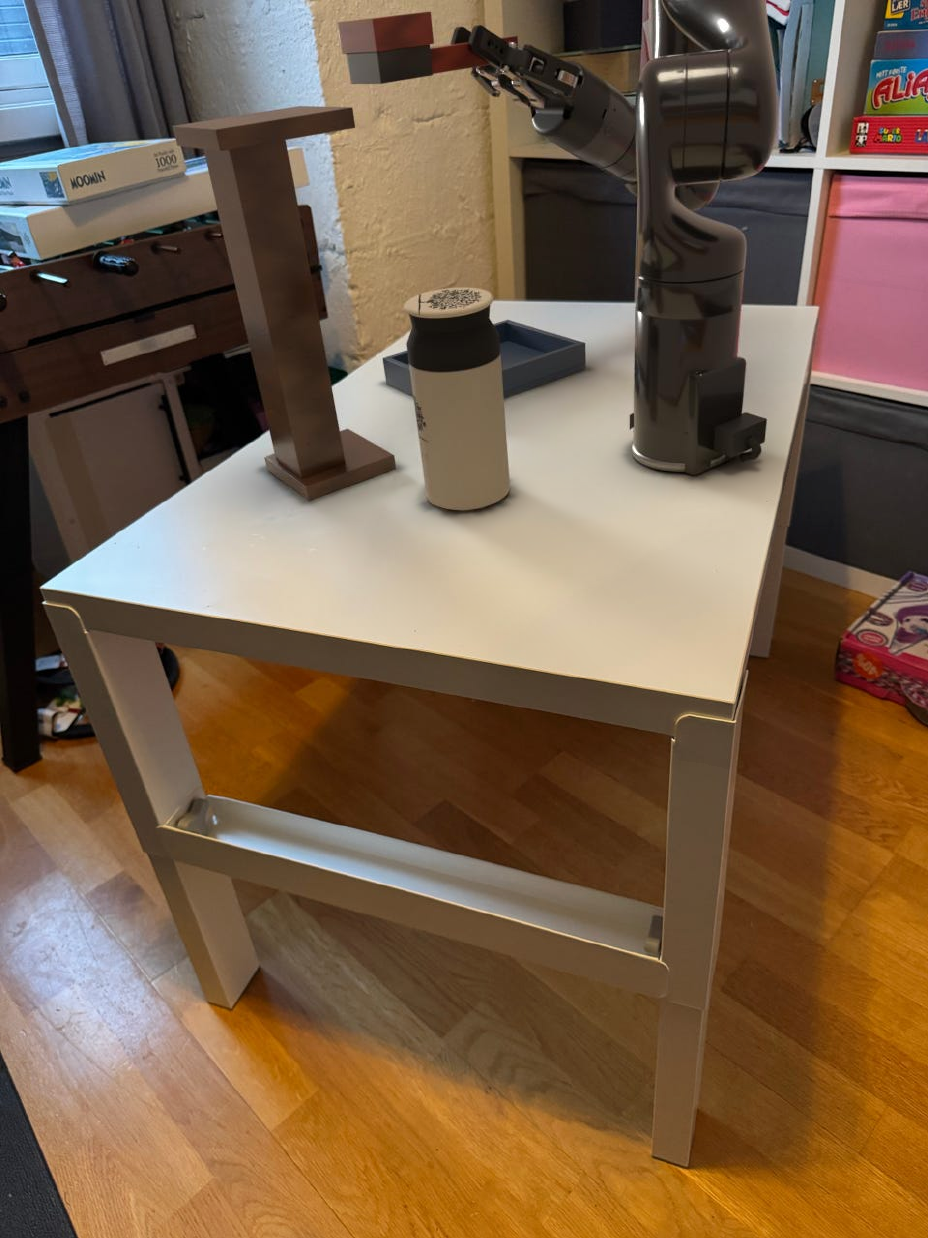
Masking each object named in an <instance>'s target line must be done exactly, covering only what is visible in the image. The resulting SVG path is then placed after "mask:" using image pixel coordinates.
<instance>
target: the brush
mask: <svg viewBox="0 0 928 1238" xmlns="http://www.w3.org/2000/svg"><path fill="white" fill-rule="evenodd" d="M432 18H433V17H432V11H421V12H412V13H404V14H403V13H402V14H395V15H387V16H378V17H371V18H362V19H355V20H354V19H353V20H347V21H340V22H337V28H338V36H339V42H340V48H341V54H342V55H346V63H347V68H348V75H349V83H350V85H383V84H389V83H395V82H401V81H406V80H407V81H408V80H414V79H421V78H425V77H432V76H434V75H435V74H442V73H447V72H453V71H459V70H460V71H461V70H467V69H472V68H473V67H479V66H485V65H490V64H489V63H488V62H486V61H485V60H483V59H481V58H480V57H478V56H477V55H475V54H474V53H472V52H471V51H470V50H469V49H468V42H463V43H457V44H444V45H436V46H431V45H433V44H435V38H434V28H433V19H432ZM499 37H500V38H501V39H503V40H504V41H506V42H507V44H508V42H515V43H516V44H517V45H519V37H518V35H508V36H507V35H506V36H505V35H504V36H499Z"/></svg>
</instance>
